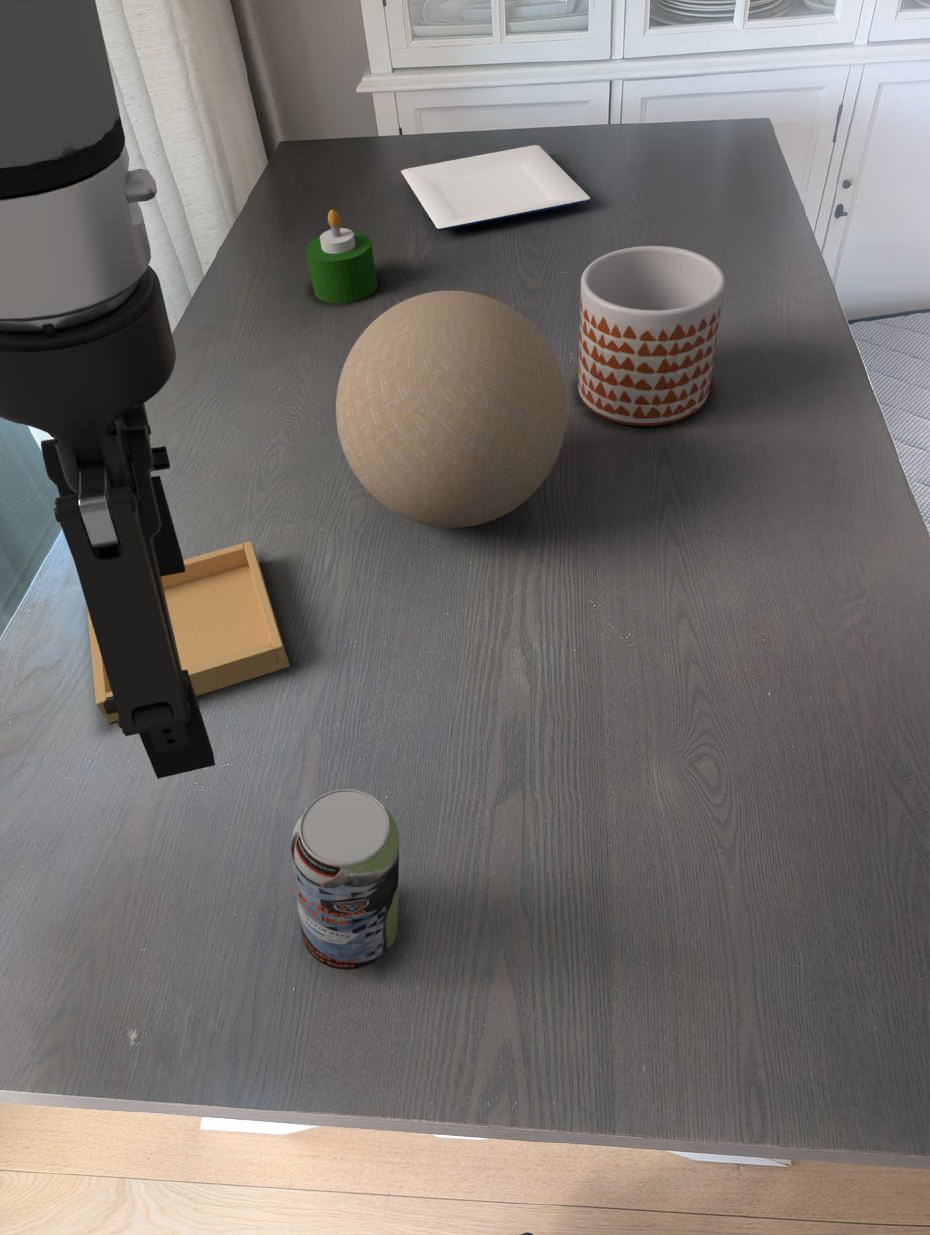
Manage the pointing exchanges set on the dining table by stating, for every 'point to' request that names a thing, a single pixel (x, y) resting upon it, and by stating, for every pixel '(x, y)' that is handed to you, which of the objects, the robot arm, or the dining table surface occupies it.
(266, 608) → the wooden serving tray
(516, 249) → the dining table surface
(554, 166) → the plate
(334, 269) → the candle
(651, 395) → the planter
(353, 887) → the beverage can
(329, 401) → the dining table surface
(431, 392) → the decorative sphere
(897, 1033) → the dining table surface
